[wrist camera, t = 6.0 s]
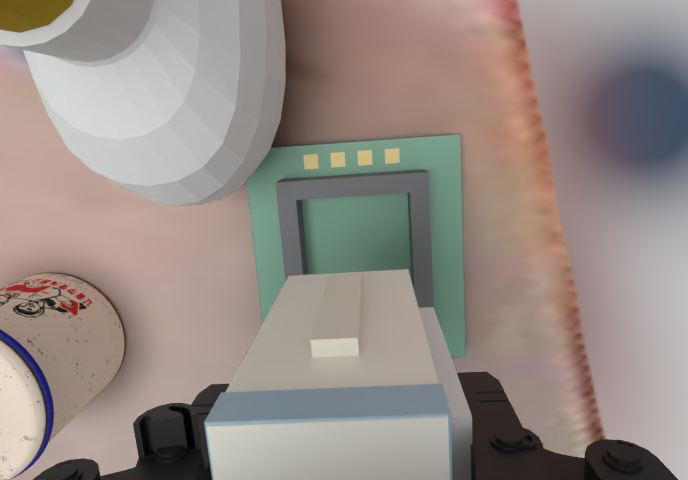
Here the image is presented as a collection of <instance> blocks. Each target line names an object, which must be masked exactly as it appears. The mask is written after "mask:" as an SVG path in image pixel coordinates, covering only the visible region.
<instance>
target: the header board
mask: <svg viewBox="0 0 688 480" xmlns="http://www.w3.org/2000/svg"><path fill="white" fill-rule="evenodd" d="M247 188H248V197H249V206H250V215H251V224H252V233H253V242H254V251H255V260H256V269H257V278H258V287H259V296H260V305H261V315H262V324H263V322H264V320H265V319H266V317H267V315H268V313H269V311H270V309H271V308H272V306H273V304H274V302H275V300H276V298H277V297H278V295H279V293H280V291H281V289H282V288H283V286H284V284H285V282H286V280H287V278H288V277H289V276H293V275H311V274H329V273H348V272H366V271H385V270H403V269H408V271H409V274H410V278H411V282H412V285H413V289H414V293H415V297H416V300H417V304H418V308H425V307H434V310H435V313H436V316H437V318H438V321H439V324H440V327H441V330H442V333H443V335H444V338H445V341H446V344H447V347H448V350H449V352H450V355H451V357H464V356H466V344H465V303H464V263H463V223H462V183H461V142H460V134H451V135H437V136H423V137H410V138H396V139H382V140H368V141H354V142H340V143H326V144H312V145H299V146H285V147H271V148H270V151H269V152H268V154H267V155H266V156H265V158H264V159H263V160H262V162H261V163H260V164H259V166H258V167H257V169H256V170H255V171H254V173H253V174H252V175H251V176H250V177H249V178H248V179H247Z"/></svg>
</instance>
